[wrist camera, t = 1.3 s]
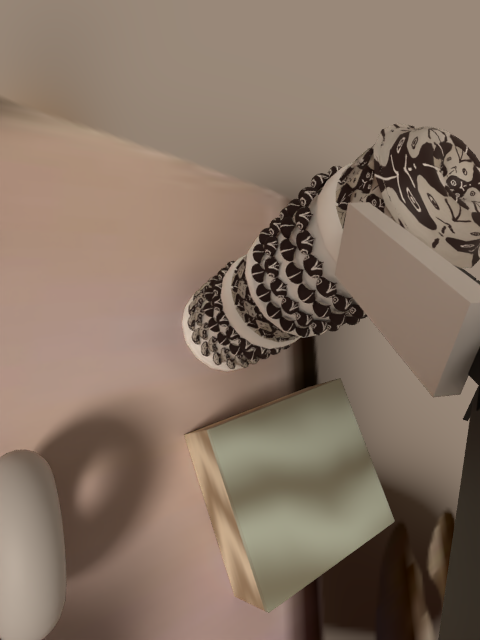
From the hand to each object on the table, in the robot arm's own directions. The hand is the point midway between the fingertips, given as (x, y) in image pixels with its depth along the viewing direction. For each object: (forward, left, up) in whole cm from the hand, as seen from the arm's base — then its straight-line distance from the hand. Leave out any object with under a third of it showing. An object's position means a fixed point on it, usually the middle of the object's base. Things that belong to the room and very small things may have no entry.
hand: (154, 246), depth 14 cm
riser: (+14, +15, -22) cm, 30 cm away
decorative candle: (-1, +15, -23) cm, 27 cm away
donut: (+9, -5, -23) cm, 25 cm away
